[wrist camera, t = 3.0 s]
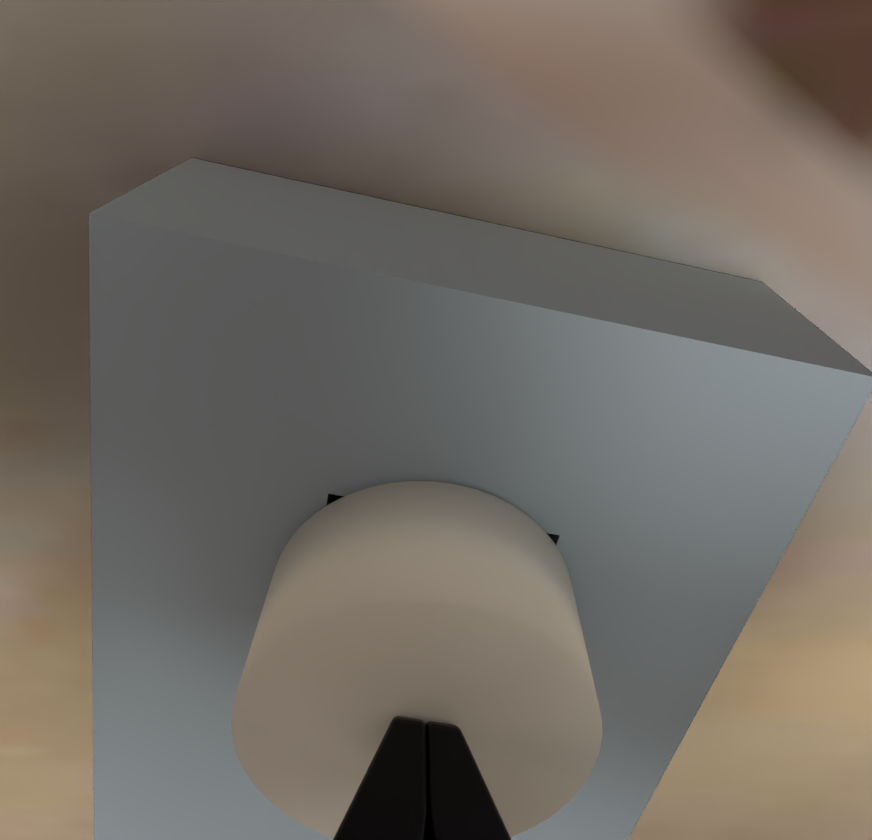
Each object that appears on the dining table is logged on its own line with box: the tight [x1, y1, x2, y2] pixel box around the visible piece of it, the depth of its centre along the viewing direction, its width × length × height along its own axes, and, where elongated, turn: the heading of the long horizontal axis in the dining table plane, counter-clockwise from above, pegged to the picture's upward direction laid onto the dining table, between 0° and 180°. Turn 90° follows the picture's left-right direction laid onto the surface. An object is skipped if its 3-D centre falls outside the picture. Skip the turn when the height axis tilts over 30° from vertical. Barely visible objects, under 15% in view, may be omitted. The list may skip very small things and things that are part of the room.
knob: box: [231, 481, 602, 838], centre depth 12 cm, size 5×5×5 cm
